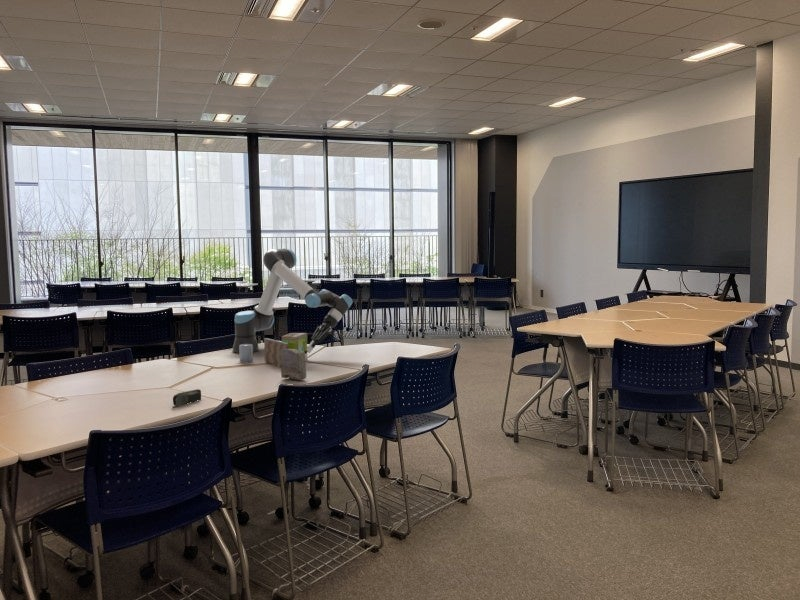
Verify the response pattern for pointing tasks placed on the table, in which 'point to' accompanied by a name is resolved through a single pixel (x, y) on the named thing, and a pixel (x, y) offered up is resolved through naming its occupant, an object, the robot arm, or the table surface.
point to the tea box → (296, 341)
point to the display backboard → (274, 350)
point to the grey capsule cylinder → (246, 352)
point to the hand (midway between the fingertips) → (307, 351)
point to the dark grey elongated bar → (186, 397)
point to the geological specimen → (293, 364)
